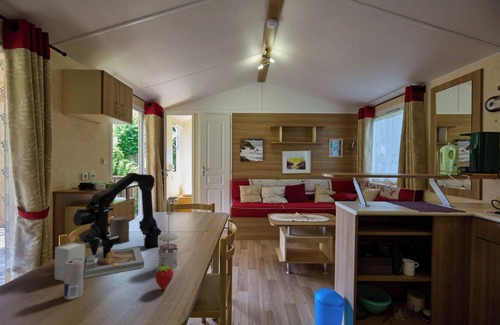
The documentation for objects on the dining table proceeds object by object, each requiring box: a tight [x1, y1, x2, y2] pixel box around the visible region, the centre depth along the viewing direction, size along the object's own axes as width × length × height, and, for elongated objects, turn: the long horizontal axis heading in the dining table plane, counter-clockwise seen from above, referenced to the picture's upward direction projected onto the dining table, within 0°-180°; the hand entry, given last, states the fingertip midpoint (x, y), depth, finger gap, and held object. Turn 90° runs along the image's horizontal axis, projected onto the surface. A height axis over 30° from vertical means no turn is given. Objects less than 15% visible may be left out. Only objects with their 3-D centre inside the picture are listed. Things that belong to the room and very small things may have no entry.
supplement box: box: [54, 241, 86, 282], centre depth 100 cm, size 7×7×13 cm
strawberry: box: [154, 265, 174, 291], centre depth 91 cm, size 6×8×10 cm
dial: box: [97, 250, 132, 266], centre depth 114 cm, size 14×14×5 cm
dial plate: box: [83, 246, 145, 279], centre depth 114 cm, size 22×22×3 cm
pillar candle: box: [109, 215, 130, 245], centre depth 145 cm, size 10×10×15 cm
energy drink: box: [63, 258, 84, 301], centre depth 86 cm, size 5×5×12 cm
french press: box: [155, 210, 180, 273], centre depth 110 cm, size 10×12×25 cm
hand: (99, 256), depth 112 cm, fingers open, 7 cm apart
